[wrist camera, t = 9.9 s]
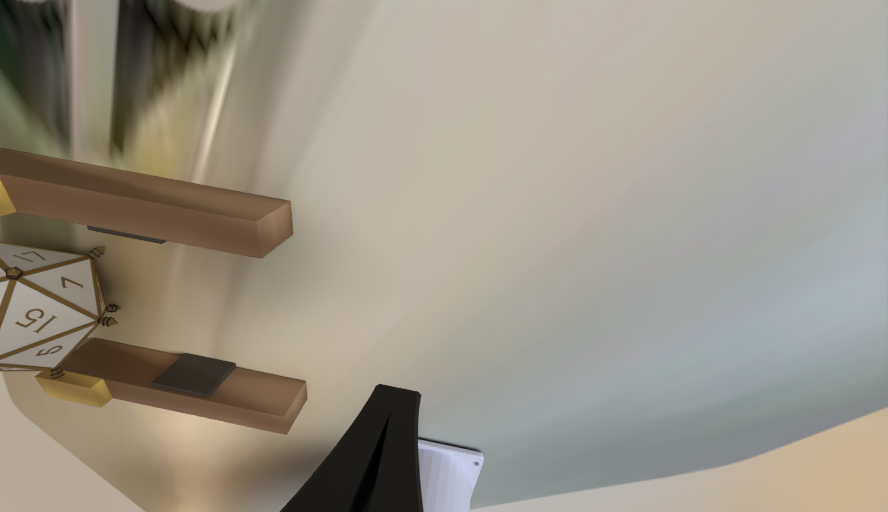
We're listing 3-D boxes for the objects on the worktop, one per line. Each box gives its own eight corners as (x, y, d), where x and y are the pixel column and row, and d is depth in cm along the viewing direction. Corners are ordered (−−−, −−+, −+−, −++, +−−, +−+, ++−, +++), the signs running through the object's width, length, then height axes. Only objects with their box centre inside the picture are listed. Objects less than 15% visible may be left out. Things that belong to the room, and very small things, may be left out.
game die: (143, 268, 26) (1, 377, 22) (17, 183, 20) (-215, 310, 16) (186, 306, 22) (16, 456, 17) (39, 210, 16) (-284, 402, 11)
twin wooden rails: (307, 398, 26) (280, 445, 22) (103, 356, 26) (47, 396, 23) (290, 201, 18) (244, 228, 15) (0, 148, 19) (-106, 162, 15)
